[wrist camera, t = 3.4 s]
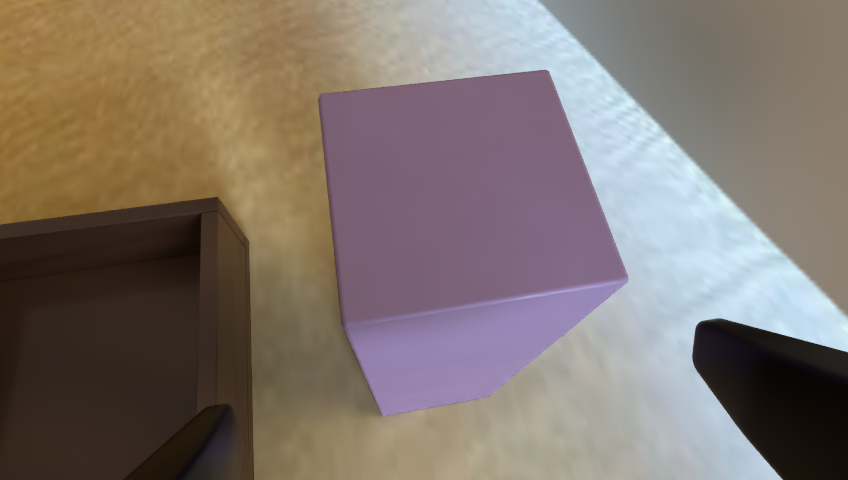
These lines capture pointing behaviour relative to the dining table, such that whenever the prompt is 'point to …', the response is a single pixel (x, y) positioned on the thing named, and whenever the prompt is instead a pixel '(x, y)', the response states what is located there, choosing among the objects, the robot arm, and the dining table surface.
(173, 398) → the tray
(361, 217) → the block
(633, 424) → the dining table surface
